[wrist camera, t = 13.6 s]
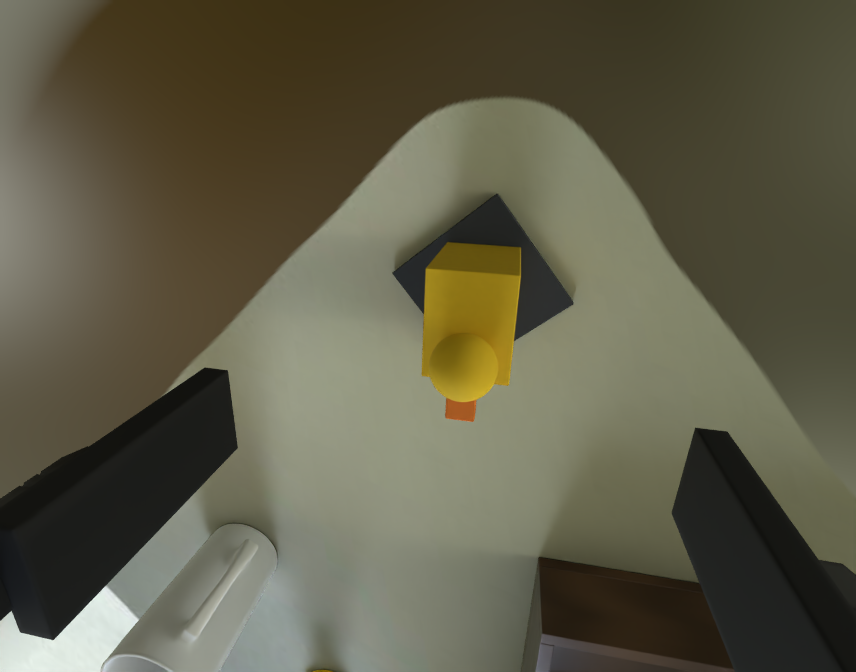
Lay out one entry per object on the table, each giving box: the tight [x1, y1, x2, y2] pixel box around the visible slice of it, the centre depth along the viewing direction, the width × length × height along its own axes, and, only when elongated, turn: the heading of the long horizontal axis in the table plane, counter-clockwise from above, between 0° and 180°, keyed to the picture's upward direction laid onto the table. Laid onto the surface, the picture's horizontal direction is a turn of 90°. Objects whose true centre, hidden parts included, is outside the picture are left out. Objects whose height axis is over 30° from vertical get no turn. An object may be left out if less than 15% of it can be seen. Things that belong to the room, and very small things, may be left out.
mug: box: [101, 524, 278, 672], centre depth 36 cm, size 10×7×12 cm, turn 145°
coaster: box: [393, 194, 573, 341], centre depth 30 cm, size 8×8×1 cm
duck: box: [422, 242, 521, 422], centre depth 25 cm, size 4×7×10 cm, turn 178°
